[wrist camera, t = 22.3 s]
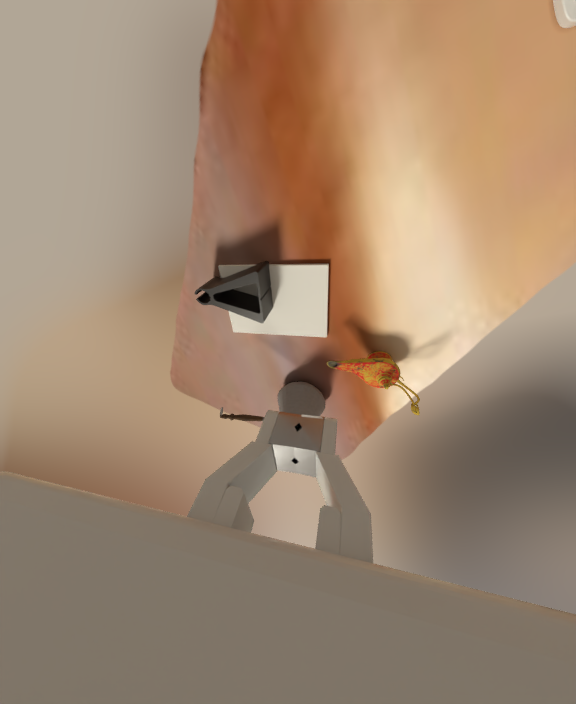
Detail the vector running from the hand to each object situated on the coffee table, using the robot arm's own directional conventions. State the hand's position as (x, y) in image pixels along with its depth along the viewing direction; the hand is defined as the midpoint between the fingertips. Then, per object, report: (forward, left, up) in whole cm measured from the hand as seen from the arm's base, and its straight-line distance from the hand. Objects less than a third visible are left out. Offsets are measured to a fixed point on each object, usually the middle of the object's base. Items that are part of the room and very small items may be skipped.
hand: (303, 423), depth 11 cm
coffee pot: (+12, +32, -35) cm, 49 cm away
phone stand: (+12, +7, -31) cm, 34 cm away
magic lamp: (-7, +22, -35) cm, 42 cm away
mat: (+12, +10, -35) cm, 38 cm away
